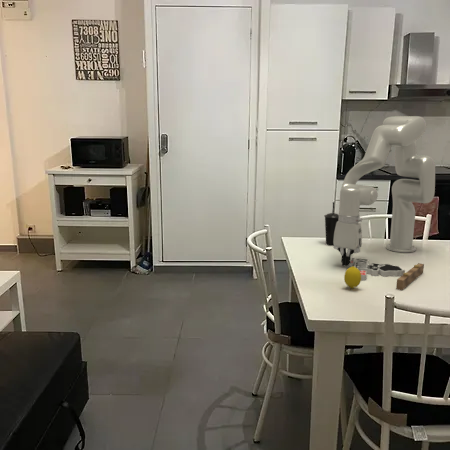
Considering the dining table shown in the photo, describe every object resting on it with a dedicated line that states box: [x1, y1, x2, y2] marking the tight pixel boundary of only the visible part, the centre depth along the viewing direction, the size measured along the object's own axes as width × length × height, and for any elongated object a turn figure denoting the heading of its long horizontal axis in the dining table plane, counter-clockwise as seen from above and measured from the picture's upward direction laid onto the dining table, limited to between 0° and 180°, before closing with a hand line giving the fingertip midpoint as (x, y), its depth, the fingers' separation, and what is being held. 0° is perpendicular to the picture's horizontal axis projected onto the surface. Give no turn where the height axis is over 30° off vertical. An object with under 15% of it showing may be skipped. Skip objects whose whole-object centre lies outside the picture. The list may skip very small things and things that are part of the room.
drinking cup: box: [324, 201, 339, 247], centre depth 212 cm, size 8×8×20 cm
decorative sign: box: [349, 257, 406, 282], centre depth 173 cm, size 22×2×20 cm
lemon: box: [343, 265, 362, 290], centre depth 156 cm, size 6×6×8 cm
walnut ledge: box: [395, 262, 425, 291], centre depth 165 cm, size 24×2×4 cm, turn 141°
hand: (345, 264), depth 180 cm, fingers closed
